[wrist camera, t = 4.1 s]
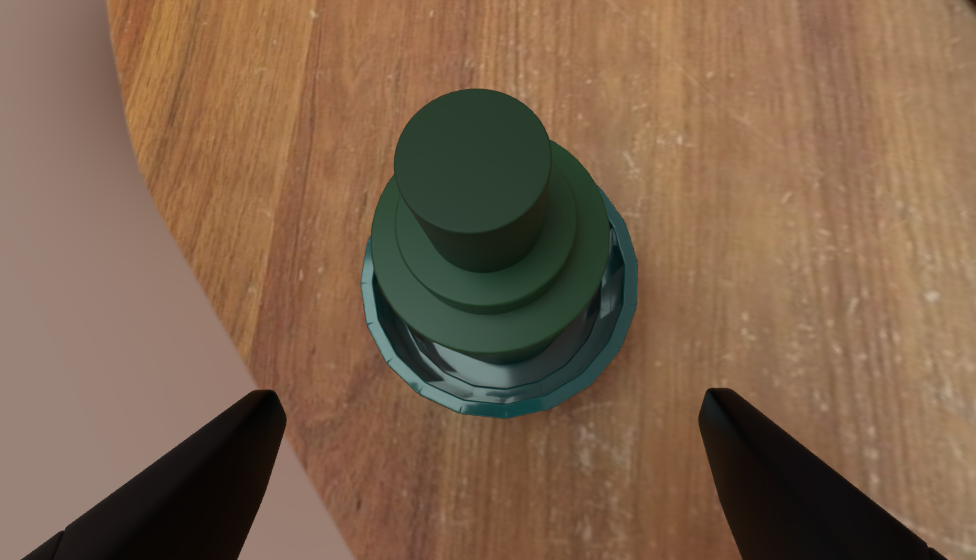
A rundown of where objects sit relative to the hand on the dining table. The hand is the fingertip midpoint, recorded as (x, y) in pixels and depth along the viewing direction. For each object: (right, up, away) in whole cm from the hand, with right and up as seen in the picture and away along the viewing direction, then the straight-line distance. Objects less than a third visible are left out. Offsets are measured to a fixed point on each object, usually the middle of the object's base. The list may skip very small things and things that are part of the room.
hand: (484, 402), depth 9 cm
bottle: (+1, +2, +11) cm, 11 cm away
